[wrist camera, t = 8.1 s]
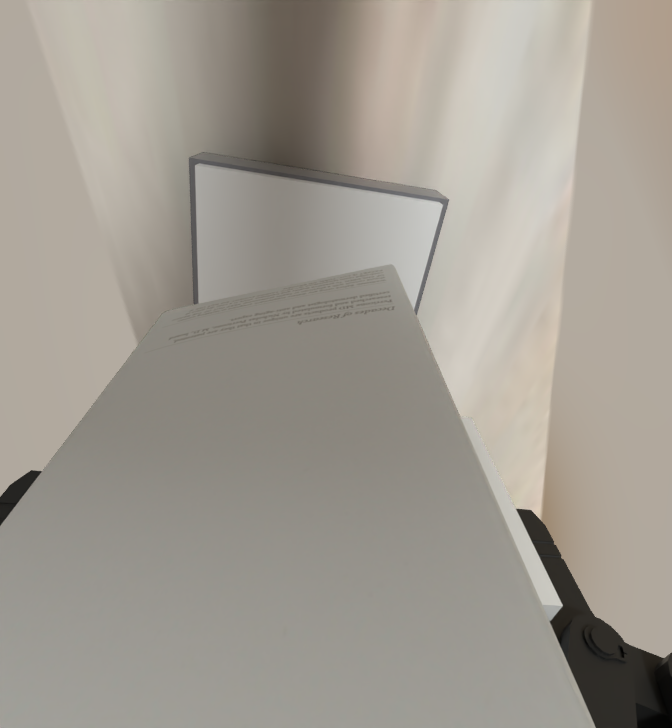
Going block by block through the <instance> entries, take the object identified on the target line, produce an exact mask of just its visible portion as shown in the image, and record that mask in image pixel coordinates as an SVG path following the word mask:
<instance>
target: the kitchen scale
mask: <svg viewBox="0 0 672 728" xmlns="http://www.w3.org/2000/svg"><path fill="white" fill-rule="evenodd" d="M189 173H190V203H191V234H192V265H193V296H194V304H199V303H204V302H209V301H214V300H219V299H223V298H228V297H233V296H238V295H243V294H248V293H253V292H257V291H262V290H267V289H272V288H277V287H282V286H287V285H292V284H297V283H302V282H307V281H311V280H316V279H321V278H326V277H331V276H335V275H340V274H345V273H350V272H354V271H359V270H364V269H369V268H374V267H379V266H384V265H389V264H392V265H394V267H395V268H396V271H397V273H398V275H399V277H400V280H401V282H402V284H403V287H404V289H405V291H406V293H407V296H408V298H409V300H410V302H411V305H412V307H413V309H414V311H415V314H416V316H417V312H418V308H419V305H420V301H421V298H422V294H423V291H424V287H425V284H426V280H427V276H428V273H429V269H430V266H431V262H432V259H433V255H434V252H435V248H436V245H437V241H438V237H439V234H440V230H441V227H442V223H443V220H444V216H445V213H446V209H447V205H448V202H449V199H448V198H446V197H445V196H443V195H442V194H441V193H439V192H438V191H436V190H431V189H425V188H419V187H412V186H406V185H400V184H394V183H388V182H382V181H376V180H370V179H364V178H358V177H351V176H345V175H339V174H333V173H327V172H321V171H315V170H309V169H303V168H297V167H290V166H284V165H278V164H272V163H266V162H260V161H254V160H248V159H242V158H235V157H229V156H223V155H217V154H211V153H205V152H203V153H200V154H197V155H195V156H192V157H189Z"/></svg>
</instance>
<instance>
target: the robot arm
mask: <svg viewBox="0 0 672 728" xmlns="http://www.w3.org/2000/svg"><path fill="white" fill-rule="evenodd" d="M460 417H461V420H462V422H463V424H464V426H465V429H466V431H467V433H468V436H469V438H470V440H471V442H472V445H473V447H474V449H475V452H476V454H477V456H478V458H479V461H480V463H481V465H482V468H483V470H484V472H485V475H486V477H487V479H488V482H489V484H490V486H491V488H492V491H493V493H494V495H495V498H496V500H497V502H498V505H499V507H500V509H501V512H502V514H503V516H504V518H505V521H506V523H507V525H508V528H509V530H510V532H511V535H512V537H513V539H514V541H515V544H516V546H517V548H518V551H519V553H520V555H521V557H522V560H523V562H524V564H525V567H526V569H527V571H528V573H529V576H530V578H531V580H532V583H533V585H534V587H535V589H536V592H537V594H538V596H539V599H540V601H541V603H542V605H543V608H544V610H545V612H546V615H547V617H548V619H549V621H550V624H551V626H552V628H553V631H554V633H555V635H556V637H557V640H558V642H559V644H560V647H561V649H562V651H563V653H564V656H565V658H566V660H567V663H568V665H569V667H570V669H571V672H572V674H573V676H574V678H575V681H576V683H577V685H578V688H579V690H580V692H581V695H582V697H583V699H584V702H585V704H586V706H587V709H588V711H589V713H590V715H591V718H592V720H593V722H594V725H595V727H596V728H672V653H670V654H669V655H668V656H667V657H665V658H661V657H659V656H656V655H654V654H651V653H649V652H646V651H644V650H641V649H638V648H636V647H633V646H631V645H629V644H627V643H625V642H624V641H623V639H622V638H621V636H620V635H619V634H618V633H617V632H616V631H615V630H614V629H613V628H612V627H611V626H609V625H608V624H607V623H605V622H604V621H602V620H601V619H599V618H596V617H595V616H594V614H593V613H592V611H591V610H590V608H589V606H588V605H587V602H586V601H585V599H584V597H583V595H582V593H581V591H580V589H579V588H578V586H577V584H576V582H575V580H574V578H573V576H572V574H571V573H570V571H569V569H568V567H567V565H566V563H565V561H564V560H563V559H562V558H561V554H560V552H559V550H558V549H557V547H556V545H554V541H553V539H552V537H551V535H550V534H549V532H548V530H547V528H546V526H545V525H544V524H543V522H542V521H541V520H540V519H539V518H538V517H537V516H536V515H535V514H534V513H533V512H532V511H531V510H524V509H516V508H515V506H514V504H513V502H512V500H511V498H510V496H509V494H508V492H507V490H506V488H505V485H504V483H503V481H502V479H501V477H500V475H499V473H498V471H497V469H496V467H495V465H494V463H493V461H492V459H491V457H490V455H489V453H488V450H487V448H486V446H485V444H484V442H483V440H482V438H481V436H480V434H479V432H478V430H477V428H476V426H475V424H474V422H473V420H472V417H463V416H460ZM41 472H42V471H32V470H31V471H30V472H28V473H27V474H25V475H24V476H22V477H21V478H20V479H18V480H17V481H15V482H14V483H12V484H11V485H10V486H9V487H8V488H7V490H6V491H5V492H4V493H3V494H2V496H1V497H0V526H1V524H2V523H3V522H4V520H5V519H6V518H7V516H8V515H9V514H10V513H11V511H12V510H13V509H14V507H15V506H16V505H17V503H18V502H19V501H20V499H21V498H22V497H23V496H24V494H25V493H26V492H27V490H28V489H29V488H30V486H31V485H32V484H33V483H34V481H35V480H36V479H37V477H38V476H39V475H40V473H41Z"/></svg>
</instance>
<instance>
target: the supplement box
mask: <svg viewBox="0 0 672 728" xmlns="http://www.w3.org/2000/svg"><path fill="white" fill-rule="evenodd" d="M0 728H596V727H595V725H594V722H593V720H592V718H591V715H590V713H589V711H588V709H587V706H586V704H585V702H584V699H583V697H582V695H581V692H580V690H579V688H578V685H577V683H576V681H575V678H574V676H573V674H572V672H571V669H570V667H569V665H568V663H567V660H566V658H565V656H564V653H563V651H562V649H561V647H560V644H559V642H558V640H557V637H556V635H555V633H554V631H553V628H552V626H551V624H550V621H549V619H548V617H547V615H546V612H545V610H544V608H543V605H542V603H541V601H540V599H539V596H538V594H537V592H536V589H535V587H534V585H533V583H532V580H531V578H530V576H529V573H528V571H527V569H526V567H525V564H524V562H523V560H522V557H521V555H520V553H519V551H518V548H517V546H516V544H515V541H514V539H513V537H512V535H511V532H510V530H509V528H508V525H507V523H506V521H505V518H504V516H503V514H502V512H501V509H500V507H499V505H498V502H497V500H496V498H495V495H494V493H493V491H492V488H491V486H490V484H489V482H488V479H487V477H486V475H485V472H484V470H483V468H482V465H481V463H480V461H479V458H478V456H477V454H476V452H475V449H474V447H473V445H472V442H471V440H470V438H469V436H468V433H467V431H466V429H465V426H464V424H463V422H462V420H461V417H460V415H459V413H458V410H457V408H456V406H455V403H454V401H453V399H452V397H451V394H450V392H449V390H448V388H447V385H446V383H445V381H444V378H443V376H442V374H441V371H440V369H439V367H438V364H437V362H436V360H435V358H434V355H433V353H432V351H431V348H430V346H429V344H428V341H427V339H426V337H425V334H424V332H423V330H422V327H421V325H420V323H419V320H418V318H417V316H416V314H415V311H414V309H413V307H412V305H411V302H410V300H409V298H408V296H407V293H406V291H405V289H404V287H403V284H402V282H401V280H400V277H399V275H398V273H397V271H396V268H395V267H394V265H392V264H389V265H384V266H379V267H374V268H369V269H364V270H359V271H354V272H350V273H345V274H340V275H335V276H331V277H326V278H321V279H316V280H311V281H307V282H302V283H297V284H292V285H287V286H282V287H277V288H272V289H267V290H262V291H257V292H253V293H248V294H243V295H238V296H233V297H228V298H223V299H219V300H214V301H209V302H204V303H199V304H194V305H190V306H185V307H181V308H177V309H173V310H169V311H166V312H164V313H162V314H161V316H160V317H159V318H158V320H157V321H156V322H155V324H154V325H153V326H152V328H151V329H150V330H149V332H148V333H147V334H146V336H145V337H144V338H143V340H142V341H141V342H140V344H139V345H138V346H137V347H136V349H135V350H134V351H133V352H132V354H131V355H130V357H129V358H128V359H127V361H126V362H125V363H124V365H123V366H122V367H121V369H120V370H119V371H118V372H117V374H116V375H115V376H114V378H113V379H112V380H111V382H110V383H109V384H108V386H107V387H106V388H105V390H104V391H103V392H102V393H101V395H100V396H99V397H98V399H97V400H96V402H95V403H94V404H93V405H92V407H91V408H90V409H89V411H88V412H87V413H86V415H85V416H84V417H83V418H82V420H81V421H80V423H79V424H78V425H77V426H76V428H75V429H74V430H73V432H72V433H71V434H70V435H69V437H68V438H67V440H66V441H65V442H64V443H63V445H62V446H61V447H60V449H59V450H58V451H57V452H56V454H55V455H54V456H53V458H52V459H51V460H50V462H49V463H48V464H47V466H46V467H45V468H44V469H43V471H42V472H41V473H40V475H39V476H38V477H37V479H36V480H35V481H34V483H33V484H32V485H31V486H30V488H29V489H28V490H27V492H26V493H25V494H24V496H23V497H22V498H21V499H20V501H19V502H18V503H17V505H16V506H15V507H14V509H13V510H12V511H11V513H10V514H9V515H8V516H7V518H6V519H5V520H4V522H3V523H2V524H1V526H0Z"/></svg>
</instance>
